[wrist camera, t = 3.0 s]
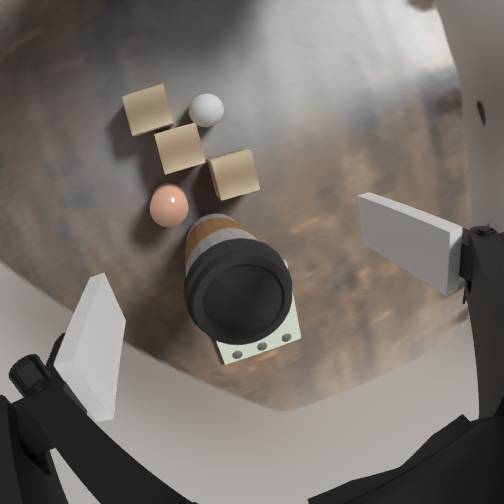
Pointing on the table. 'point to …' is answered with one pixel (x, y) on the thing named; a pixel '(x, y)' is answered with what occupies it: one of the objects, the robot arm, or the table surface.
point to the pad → (279, 337)
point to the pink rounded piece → (168, 205)
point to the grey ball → (206, 110)
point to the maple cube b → (180, 148)
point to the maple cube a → (147, 110)
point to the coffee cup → (234, 282)
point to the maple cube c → (233, 174)
